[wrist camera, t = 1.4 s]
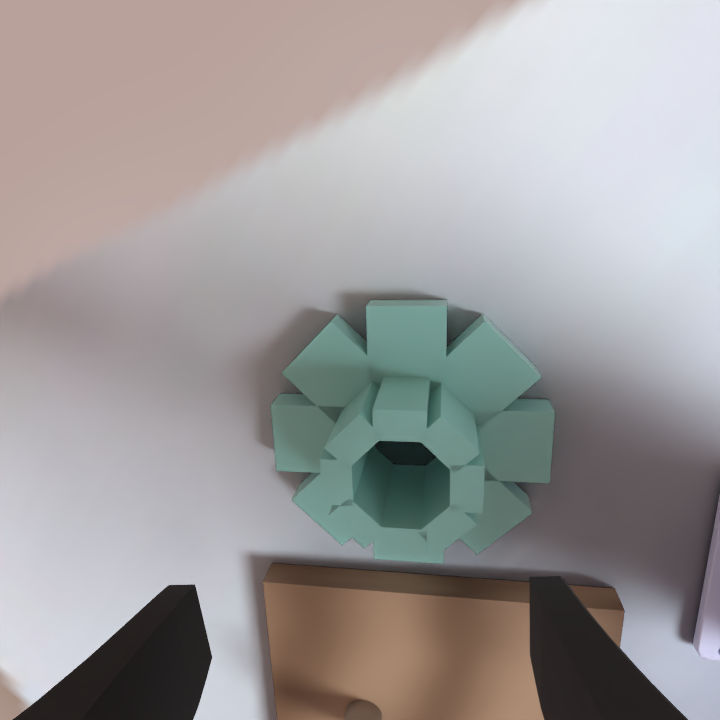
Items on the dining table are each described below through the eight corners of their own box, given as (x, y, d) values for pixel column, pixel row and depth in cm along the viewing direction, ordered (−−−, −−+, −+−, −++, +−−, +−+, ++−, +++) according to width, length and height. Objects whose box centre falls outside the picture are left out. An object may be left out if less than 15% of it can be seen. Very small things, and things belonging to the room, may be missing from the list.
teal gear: (556, 298, 18) (586, 327, 14) (537, 550, 21) (558, 632, 17) (272, 300, 20) (228, 327, 16) (291, 534, 23) (258, 606, 19)
